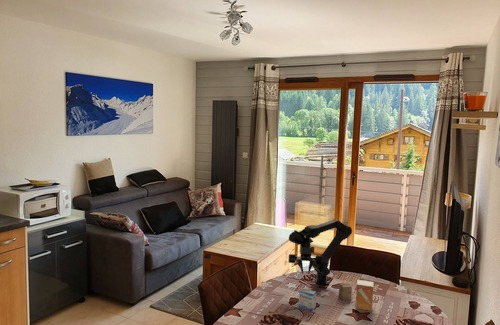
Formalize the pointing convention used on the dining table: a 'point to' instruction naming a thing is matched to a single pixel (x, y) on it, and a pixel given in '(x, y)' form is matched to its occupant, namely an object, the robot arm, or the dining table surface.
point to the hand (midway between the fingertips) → (305, 274)
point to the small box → (364, 295)
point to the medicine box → (307, 299)
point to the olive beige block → (345, 291)
